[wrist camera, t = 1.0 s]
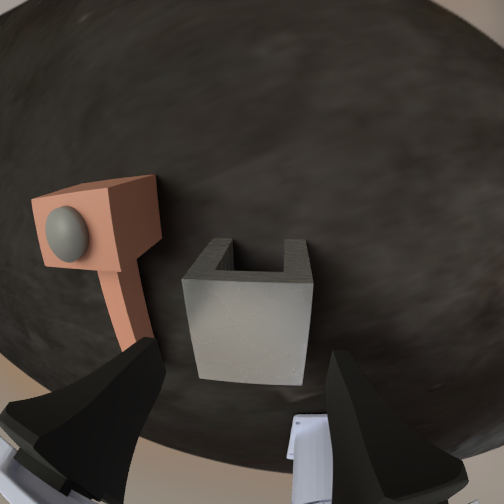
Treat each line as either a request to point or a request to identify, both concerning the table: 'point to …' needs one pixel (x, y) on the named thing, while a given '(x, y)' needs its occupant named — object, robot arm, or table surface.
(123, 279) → the pink button lever
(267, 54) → the table surface
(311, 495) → the robot arm
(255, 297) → the block
